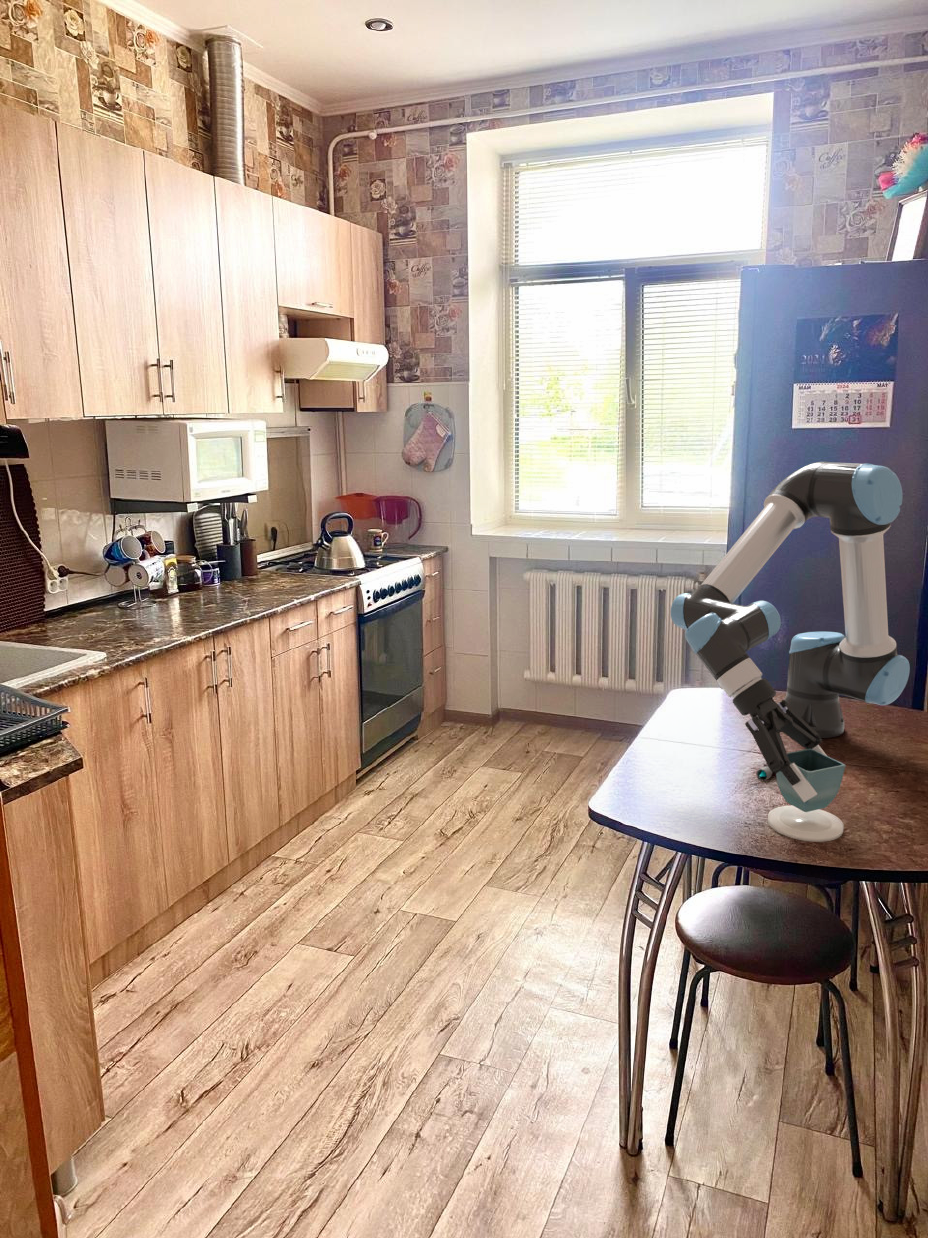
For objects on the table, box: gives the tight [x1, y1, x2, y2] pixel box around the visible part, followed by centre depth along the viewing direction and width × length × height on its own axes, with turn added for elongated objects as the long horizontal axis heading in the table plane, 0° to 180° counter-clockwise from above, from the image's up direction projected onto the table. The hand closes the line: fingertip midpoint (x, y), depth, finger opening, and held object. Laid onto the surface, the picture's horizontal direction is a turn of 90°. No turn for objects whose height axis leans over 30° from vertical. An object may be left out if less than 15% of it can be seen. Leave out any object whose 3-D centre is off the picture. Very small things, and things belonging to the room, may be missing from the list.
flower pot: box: [775, 748, 846, 812], centre depth 168 cm, size 9×9×9 cm
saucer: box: [767, 804, 844, 843], centre depth 170 cm, size 13×13×1 cm
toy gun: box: [755, 761, 777, 781], centre depth 192 cm, size 10×12×5 cm
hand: (823, 788), depth 166 cm, fingers closed on flower pot, 11 cm apart
